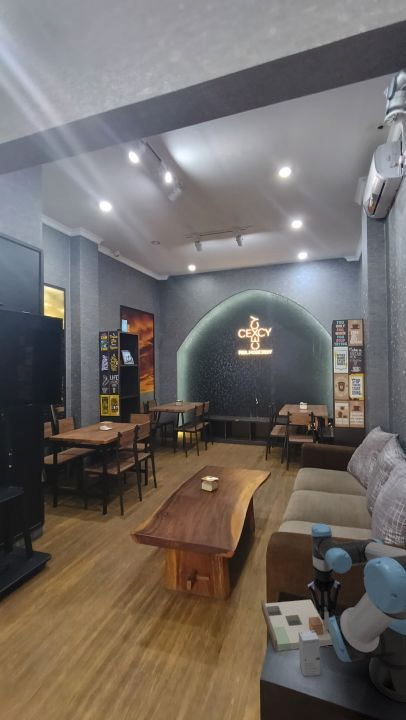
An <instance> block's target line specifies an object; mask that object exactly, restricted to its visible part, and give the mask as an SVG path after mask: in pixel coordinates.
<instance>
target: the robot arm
mask: <svg viewBox="0 0 406 720" xmlns="http://www.w3.org/2000/svg"><path fill="white" fill-rule="evenodd" d="M310 533H311V534H310V536H311V548H312V549H311V551H312V571H313V572H312V573H313V577H312V581H311V582H310V583H309V582H308V583H307V585H306V586H307V587H308V590H309V591H310V594H311V597H312V600H313V601H312V602H313V605H314V607H315V608H316V610H317V612H319V616H320V617H321V619H322V621H323V626H324V627H325V629H327V630H328V632H329V634H330V637H331V640H332V644H333V646H332V647H333V649H334V651H335V653H336V655H337V658H338V659H339V660H340V661H342V662H343V663H346V662H349V663H352V662H356V661H361V660H362V661H364V660H368V659H370V662H369V664H368V673H369V678H370V681H371V683H372V684H373V685H374V687H375V688H376V690H378V691H379V692H380V693H381V694H382V695H384V696H386V697H387V698H388V699H391V700H393V701H396V702H400V703H406V549H403V548H399V547H396V546H395V547H394V546H390V545H387V544H384V542H382V541H381V539H378V538H367V539H363V540H354V541H344V542H337V541H336V540H335V539H334V538H333V532H332V528H331V527H330V526H329V525H328V524H326V523H325V524H324V523H315V524H313V525H312V526H311V532H310ZM358 565H365V566H364V570H363V575H364V576H363V583H364V587H365V591H366V592H365V593H364V594H363V596H362V597H361V599H360V600H359V601H358V603H357V604H356V605H355V606H354V607H353V606H352V607H347V608H346V609H345V610H344V611H343V612H342V613H341V614H340V615H337V616H336V615H332V613H333V610H336V609H337V607H336V606H337V603H338V598H339V592H340V590H341V587H342V585H341V583H340V582H339V581H338V580H335V578H334V577H335V575H334V573H337V574H346V573H347V572H348V571H350V570H351V568H352V567H353V566H358ZM315 588H316V589H317V590H318V598H317V594H316V592H315Z"/></svg>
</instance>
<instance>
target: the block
mask: <svg viewBox="0 0 406 720" xmlns="http://www.w3.org/2000/svg"><path fill="white" fill-rule="evenodd" d="M309 628H310V631H312V630H315V632H316V634H317V635H323V624H322V622H321V620H320V618H319V617H309Z"/></svg>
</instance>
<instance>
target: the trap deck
mask: <svg viewBox="0 0 406 720" xmlns="http://www.w3.org/2000/svg"><path fill="white" fill-rule="evenodd" d="M260 601H261V612H262V615H263V617H264V620H265V624H266V627H267V631H268V634H269V635H270V634H271V637H270V639H271V638H272V640H271V643H272V642H273V643H272V645H274V646H273V649H274V652H281V650H285V651H290V650H289V649H295V648H299V631H310V628H309V617H319V618H320V620H321V622H322V624H323V620H322V619H321V617H320V613H319V611H317V609H316V607H315V605H314V602H313V601H312V600H311V599H303V600H292V601H291V600H290V601H280V602H268V603H265V601H264V599H263V600H262V599H261V600H260ZM317 636H318V638H319V646H321V645H333V644H332V640H331V637H330V633H329V629H325V627H324V626H323V635H317ZM295 650H296V649H295Z"/></svg>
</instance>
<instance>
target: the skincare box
mask: <svg viewBox="0 0 406 720" xmlns="http://www.w3.org/2000/svg"><path fill="white" fill-rule="evenodd" d="M298 650H299V651H298V654H299V668H300V669H301V672H302V674H303V676H304V677H312V676H313V677H314V676H320V675H321V657H320V650H321V649H320V647H319V638H318V636H317V634H316V632H315V630H312V631H299V649H298Z"/></svg>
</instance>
